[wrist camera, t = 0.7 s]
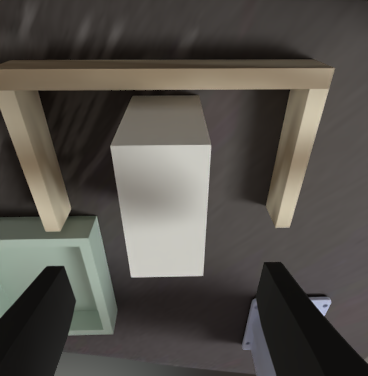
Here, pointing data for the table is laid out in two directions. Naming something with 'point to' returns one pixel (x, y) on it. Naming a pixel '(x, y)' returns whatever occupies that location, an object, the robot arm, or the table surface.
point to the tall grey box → (163, 184)
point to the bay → (160, 80)
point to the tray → (59, 256)
